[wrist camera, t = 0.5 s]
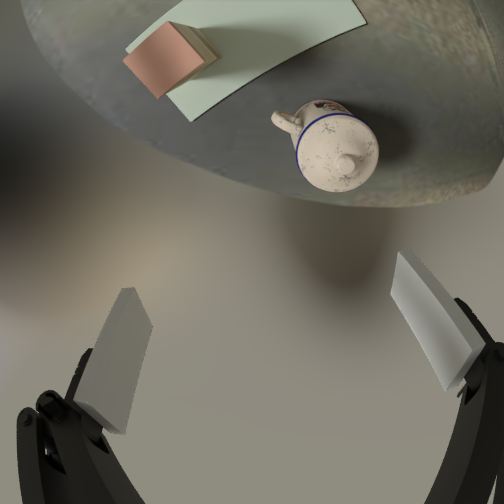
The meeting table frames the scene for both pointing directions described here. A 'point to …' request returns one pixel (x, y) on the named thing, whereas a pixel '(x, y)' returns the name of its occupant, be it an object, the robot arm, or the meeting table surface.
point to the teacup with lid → (330, 145)
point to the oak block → (171, 57)
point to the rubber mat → (250, 40)
